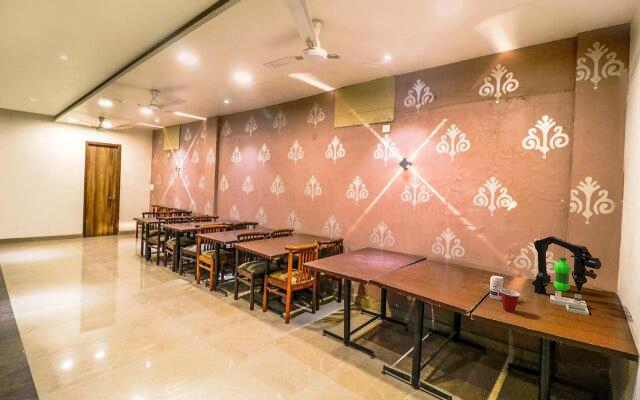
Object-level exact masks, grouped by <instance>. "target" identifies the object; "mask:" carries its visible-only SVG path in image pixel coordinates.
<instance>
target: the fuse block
mask: <svg viewBox="0 0 640 400" xmlns="http://www.w3.org/2000/svg"><path fill="white" fill-rule="evenodd" d="M549 297H550V299H549V301H550V304H554V305H559V306H565V307H566V304H570V305H576V306H581V307H587V306H588V305H587V302H586V301H585V300H582V299H581V303H576V302H574V301H575V298H569V297H564V296H561V300H560V299H555V295H552V294H550V296H549ZM587 308H588V307H587Z"/></svg>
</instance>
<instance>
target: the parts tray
mask: <svg viewBox="0 0 640 400" xmlns="http://www.w3.org/2000/svg"><path fill="white" fill-rule="evenodd" d="M565 308H566V311H567V312H571V313H575V314H582V315H585V316H589V315H590V311H589V310H588V307H581V306H576V305H570V304H566V306H565Z"/></svg>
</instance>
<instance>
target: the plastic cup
mask: <svg viewBox="0 0 640 400" xmlns="http://www.w3.org/2000/svg"><path fill="white" fill-rule="evenodd" d="M500 292H501V296H502V300H501V302H502V308H503V311H504V310H505V312H507V313H515V310H516V308H517V304H518V300H519V298H520V296H521V293H520V292H518V291H515V290H512V289H507V288H504V289H501V290H500Z"/></svg>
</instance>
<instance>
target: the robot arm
mask: <svg viewBox="0 0 640 400" xmlns="http://www.w3.org/2000/svg"><path fill="white" fill-rule="evenodd" d="M533 244H534V249H535V251H536V253H537V267H538V268H537V274H536V276H535V280H533V281H532V282H531V284H532V286H534V289H533V290H534V291H533V293H534V294H537V295H544V296H545V295H546V296H547V288H546V287H548V286H549V284H551V282H552V280H551V275H550V274H549V273H548V271H547V269H548V268H547V251H548V249H549V246H550V245H552V244H554V245H556V246H559V247H561V248H564V249H567V250H568V251H569V252H571V253H572V255H570V257H571V258H573V270H571V277H572V279H573V282H574V284H575V287H576V289H577V291H578V292H582V287H583V285H584V284H586V283H588V278H591V279H593V280H596V278H597V277H598V274H597V273H596V272H595V271H594V270H593V269H595V270H600V269H601V268H602V261H601V260H600V258H598V257H593V255H592V254H591V252H590V251H589V249H588V247H587V246H586V245H585V246H584V245H581V244H577V243H576V244H575V243H571V242H569V241H566V240H563V239H561V238H558V237H557V236H554V235H553V236H552V235H551V236H548V237H545V238H541V239H536V240H535V241H534V242H533ZM570 257H569V258H570ZM587 268H590V269H587ZM587 277H588V278H587Z"/></svg>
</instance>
